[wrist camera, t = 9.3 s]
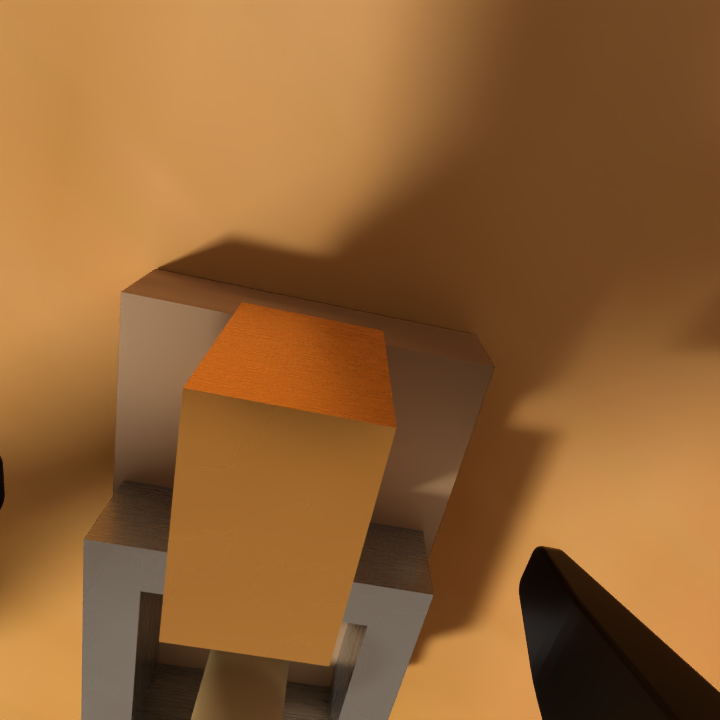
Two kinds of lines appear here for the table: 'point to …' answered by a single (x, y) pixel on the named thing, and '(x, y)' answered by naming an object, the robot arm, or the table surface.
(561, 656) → the robot arm
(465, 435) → the keeper
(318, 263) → the table surface
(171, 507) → the link
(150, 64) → the table surface
